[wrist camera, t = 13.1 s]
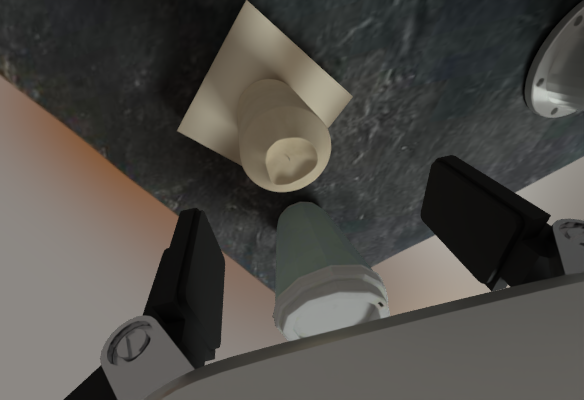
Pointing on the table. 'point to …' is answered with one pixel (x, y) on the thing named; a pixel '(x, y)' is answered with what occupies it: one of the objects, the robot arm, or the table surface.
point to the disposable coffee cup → (321, 277)
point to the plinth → (249, 69)
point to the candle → (280, 137)
